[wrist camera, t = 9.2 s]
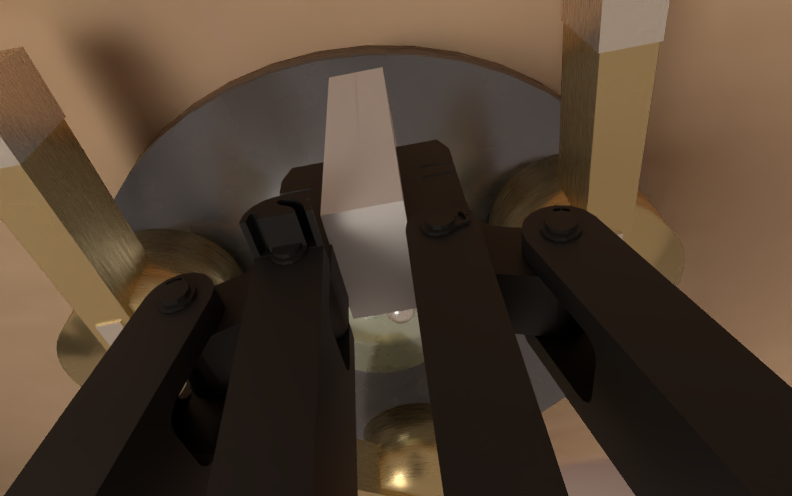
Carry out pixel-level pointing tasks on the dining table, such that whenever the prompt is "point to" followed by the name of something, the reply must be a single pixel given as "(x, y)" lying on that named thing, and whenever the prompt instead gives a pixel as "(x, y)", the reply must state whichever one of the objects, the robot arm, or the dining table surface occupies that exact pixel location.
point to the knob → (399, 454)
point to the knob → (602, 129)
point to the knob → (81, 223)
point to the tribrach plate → (304, 145)
